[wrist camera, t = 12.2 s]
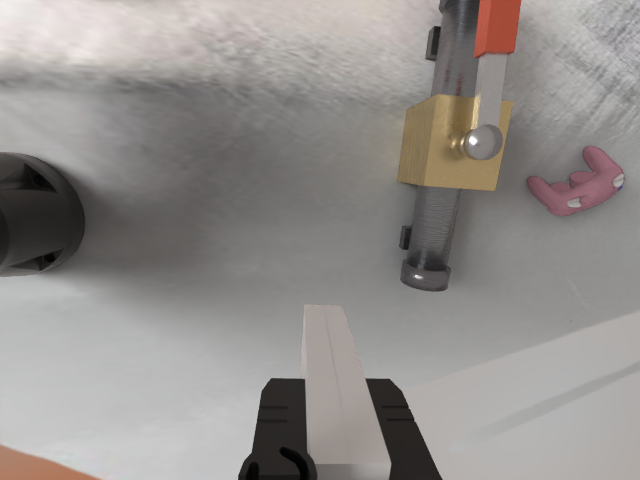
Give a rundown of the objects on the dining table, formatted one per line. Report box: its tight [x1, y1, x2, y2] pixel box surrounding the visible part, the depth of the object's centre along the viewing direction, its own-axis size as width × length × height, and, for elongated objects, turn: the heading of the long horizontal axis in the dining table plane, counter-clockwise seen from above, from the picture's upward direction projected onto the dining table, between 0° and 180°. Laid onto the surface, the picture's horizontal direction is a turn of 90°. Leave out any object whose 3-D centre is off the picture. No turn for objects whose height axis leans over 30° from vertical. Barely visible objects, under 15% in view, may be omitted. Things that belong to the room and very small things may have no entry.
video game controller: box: [528, 146, 624, 216], centre depth 40 cm, size 10×5×7 cm, turn 118°
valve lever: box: [463, 0, 521, 160], centre depth 28 cm, size 16×3×2 cm, turn 0°
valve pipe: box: [397, 0, 513, 291], centre depth 35 cm, size 8×34×11 cm, turn 176°
